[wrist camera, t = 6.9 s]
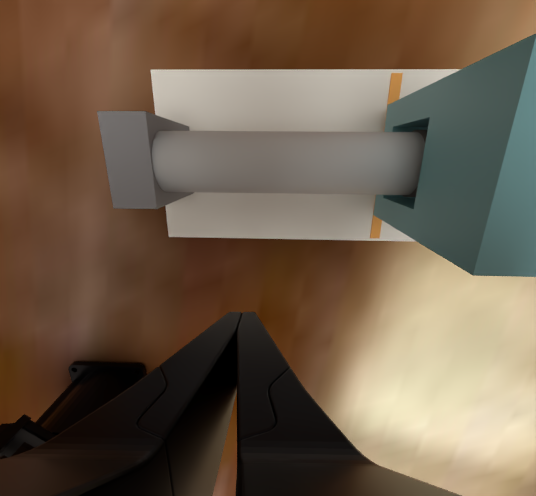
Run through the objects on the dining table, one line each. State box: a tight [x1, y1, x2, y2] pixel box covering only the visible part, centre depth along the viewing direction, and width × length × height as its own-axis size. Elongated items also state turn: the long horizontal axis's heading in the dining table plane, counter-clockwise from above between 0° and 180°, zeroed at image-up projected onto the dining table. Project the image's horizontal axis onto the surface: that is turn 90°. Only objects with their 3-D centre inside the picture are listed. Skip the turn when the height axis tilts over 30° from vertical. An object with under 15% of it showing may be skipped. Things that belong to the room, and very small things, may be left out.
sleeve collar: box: [373, 34, 536, 277], centre depth 11 cm, size 3×6×9 cm, turn 0°
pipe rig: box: [97, 69, 461, 241], centre depth 15 cm, size 20×10×7 cm, turn 90°
